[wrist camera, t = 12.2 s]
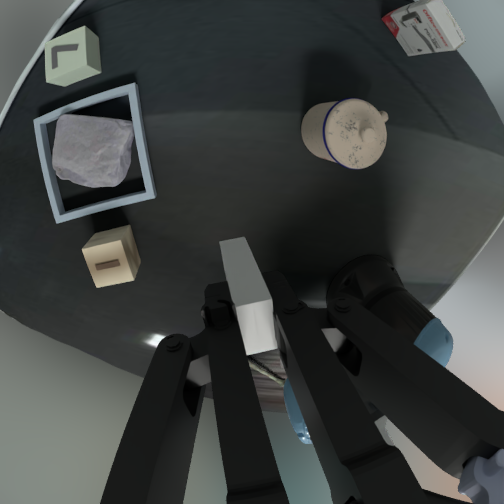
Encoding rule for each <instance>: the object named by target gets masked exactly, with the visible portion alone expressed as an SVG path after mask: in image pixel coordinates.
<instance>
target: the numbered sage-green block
mask: <svg viewBox="0 0 504 504" xmlns="http://www.w3.org/2000/svg"><path fill="white" fill-rule="evenodd" d="M45 69H46V82H48V83H52V84H56V85H60V86H64V87H65V86H67V85H70V84H72V83H75V82H77V81H80V80H82V79H85V78H88V77H91V76H93V75H96V74H99V73H101V63H100V49H99V37H98V36H97V35H95V34H94V33H93V32H92V31H91V30H90V29H88V28H87V27H86V26H83V27H80V28H78V29H75V30H73V31H71V32H68V33H66V34H64V35H62V36H59V37H57V38H55V39H53V40H51V41H49V42H47V43H45Z"/></svg>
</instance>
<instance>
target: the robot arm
mask: <svg viewBox="0 0 504 504" xmlns="http://www.w3.org/2000/svg"><path fill="white" fill-rule="evenodd" d="M220 248H221V253H222V258H223V263H224V269H225V274H226V279H227V281H225V282H220V283H214V284H209V285H208V286H207V287H206V289H205V291H204V292H205V304H204V305H203V306H202V309H201V313H202V316H203V320H204V323H205V329H204V330H203V331H202V332H201V333H199V334H198V335H196V336H194V337H191V338H188V337H187V336H185V335H183V334H172V335H169V336H167V337H165V338H164V339H162V340H161V341H160V343H159V344H158V346H157V349H156V351H155V354H154V356H153V358H152V361H151V363H150V366H149V368H148V371H147V373H146V376H145V378H144V381H143V383H142V386H141V388H140V391H139V394H138V396H137V398H136V401H135V404H134V406H133V409H132V412H131V414H130V417H129V420H128V422H127V425H126V428H125V430H124V433H123V436H122V439H121V442H120V444H119V447H118V450H117V453H116V456H115V459H114V462H113V465H112V468H111V471H110V474H109V477H108V480H107V483H106V486H105V489H104V492H103V496H102V499H101V502H100V504H183V500H184V495H185V489H186V484H187V479H188V473H189V467H190V463H191V458H192V453H193V448H194V442H195V437H196V432H197V428H198V423H199V418H200V412H201V407H202V403H203V398H204V393H205V388H206V383H209V382H211V383H212V391H213V399H214V407H215V414H216V421H217V427H218V435H219V442H220V448H221V454H222V460H223V466H224V472H225V478H226V484H227V490H228V493H227V497H226V501H227V504H289V500H288V497H287V494H286V491H285V488H284V486H283V483H282V481H281V477H280V474H279V471H278V467H277V464H276V460H275V457H274V453H273V450H272V446H271V443H270V440H269V436H268V433H267V429H266V425H265V422H264V418H263V414H262V411H261V407H260V403H259V400H258V396H257V392H256V388H255V385H254V381H253V377H252V373H251V369H250V366H249V362H248V358H247V355H250V354H255V353H260V352H264V351H268V350H273V349H277V344H278V346H279V350H280V361H281V368H283V367H284V369H285V371H286V374H287V377H288V378H287V379H286V381H285V384H284V400H285V405H286V409H287V412H288V415H289V418H290V421H291V424H292V426H293V428H294V430H295V432H296V433H297V435H298V437H299V439H300V440H301V441H302V442H303V443H305V444H308V443H309V444H311V443H313V445H314V447H315V450H316V453H317V455H318V458H319V461H320V463H321V466H322V468H323V471H324V473H325V476H326V479H327V481H328V483H329V487H330V490H331V497H332V501H333V504H504V411H501V410H498V409H497V408H496V407H495V406H494V405H492V404H491V403H490V402H489V401H487V400H486V399H485V398H483V397H482V396H481V395H480V394H478V393H477V392H476V391H475V390H473V389H472V388H471V387H469V386H468V385H467V384H465V383H464V382H462V380H460V379H459V378H458V377H456V376H455V375H454V374H453V373H451V372H450V371H449V370H447V369H446V368H445V366H446V365H447V363H448V361H449V359H450V356H451V353H452V349H453V338H452V336H451V334H450V332H449V331H448V330H447V329H446V328H445V326H444V325H443V324H442V323H441V321H440V319H438V318H436V317H435V316H434V315H433V314H432V313H431V312H430V311H429V310H428V309H427V308H425V307H424V306H423V305H422V304H421V303H420V302H419V301H418V300H417V299H416V298H415V297H413V296H412V295H411V294H410V293H409V292H408V291H407V290H406V289H405V288H404V285H403V283H402V281H401V279H400V277H399V275H398V273H397V271H396V269H395V268H394V266H393V265H392V264H391V263H389V262H388V261H387V260H386V259H384V258H383V257H380V256H377V255H366V256H362V257H359V258H357V259H355V260H353V261H351V262H350V263H348V264H347V265H346V266H345V267H343V268H342V269H341V270H340V271H339V273H338V274H337V275H336V276H335V278H334V279H333V281H332V283H331V285H330V287H329V290H328V293H327V300H326V301H327V308H319V309H317V308H309V307H308V306H307V305H306V304H305V303H304V302H303V301H300V300H298V298H297V297H296V295H295V293H294V291H293V290H292V288H291V286H290V285H289V283H288V281H287V279H286V278H285V276H284V274H282V273H281V272H279V271H277V270H275V271H270V272H266V273H260V270H259V268H258V266H257V264H256V261H255V259H254V257H253V254H252V252H251V250H250V248H249V245H248V243H247V241H246V239H245V237H241V238H236V239H230V240H225V241H220ZM387 419H389V420H390V421H391V422H392V423H393V424H394V425H395V426H396V427H397V428H398V429H399V430H400V431H401V432H402V433H403V434H404V435H405V436H406V437H408V438H409V439H410V440H411V441H412V442H413V443H414V444H415V445H416V446H417V447H418V448H419V449H420V450H421V451H422V452H423V453H424V454H425V455H426V456H427V457H428V458H429V459H431V460H432V461H433V462H434V463H435V464H436V465H437V466H438V467H440V468H441V469H442V470H443V471H445V472H447V473H448V474H450V475H451V476H453V477H455V478H458V479H460V483H459V486H458V492H459V493H460V494H463V495H467V496H468V497H469V498H470V499H471V500H472V502H473V503H469V502H465V501H461V500H457V499H454V498H450V497H446V496H443V495H440V494H437V493H434V492H431V491H428V490H424V489H422V488H421V486H420V485H419V483H418V481H417V479H416V477H415V476H414V474H413V472H412V470H411V468H410V466H409V465H408V463H407V461H406V460H405V457H404V456H403V454H402V453H401V451H400V450H399V449H398V448H397V447H395V445H394V443H393V441H392V439H391V437H390V435H389V434H388V432H387V430H386V428H385V425H386V422H387Z"/></svg>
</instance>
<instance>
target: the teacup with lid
mask: <svg viewBox="0 0 504 504" xmlns="http://www.w3.org/2000/svg"><path fill="white" fill-rule="evenodd" d="M387 120H388V115H387V113H386V112H384V111H378V110H377V109H376V108H375V107H374V106H372V105H371V104H370V103H368V102H366V101H364V100H362V99H358V98H346V99H343V100H340V101H335V102H328V103H321V104H318V105H315V106H314V107H312V108H311V109H310V110H309V111H308V112H307V113H306V114H305V116H304V118H303V121H302V125H301V134H302V139H303V141H304V144H305V145H306V147H307V148H308V150H309V151H310V152H311V153H313V154H314V155H315V156H317V157H319V158H322V159H326V160H329V161H332V162H336V163H338V164H340V165H341V166H343V167H346V168H349V169H363V168H366V167H368V166H370V165H372V164H373V163H375V162H376V161H377V160H378V159H379V157H380V156H381V154H382V153H383V151H384V148H385V145H386V139H387V133H386V126H385V123H384V122H386V121H387Z"/></svg>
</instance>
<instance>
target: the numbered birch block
mask: <svg viewBox="0 0 504 504" xmlns="http://www.w3.org/2000/svg"><path fill="white" fill-rule="evenodd" d="M82 251H83V254H84V257H85V260H86V262H87V265H88V267H89V270H90V273H91V275H92V278H93V280H94V283H95V285H96V287H97V288H98V287H103V286H108V285H113V284H119V283H124V282H129V281H134V280H135V277H136V274H137V271H138V268H139V265H140V262H141V260H140V257H139V254H138V250H137V247H136V244H135V240H134V237H133V234H132V230H131V226H130V225H127V226H123V227H119V228H115V229H111V230H107V231H103V232H99V233H95V234H94V235H93V236H92V237H91V239H90V240H89V241H88V242H87V244H86V245H85V246H84V247H83V248H82Z"/></svg>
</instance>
